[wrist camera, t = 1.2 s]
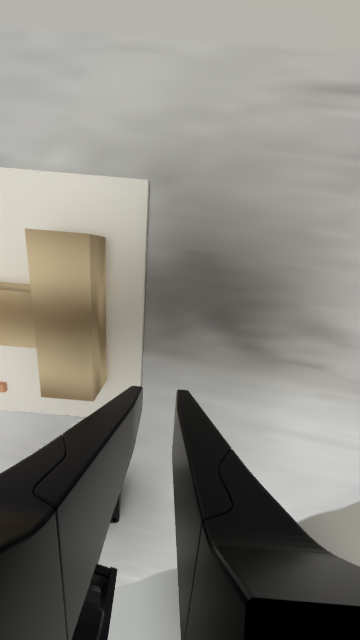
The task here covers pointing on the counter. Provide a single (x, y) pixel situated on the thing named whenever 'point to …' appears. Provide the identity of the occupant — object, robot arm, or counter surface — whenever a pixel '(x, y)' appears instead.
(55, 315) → the t block
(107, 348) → the board
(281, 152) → the counter surface
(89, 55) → the counter surface
